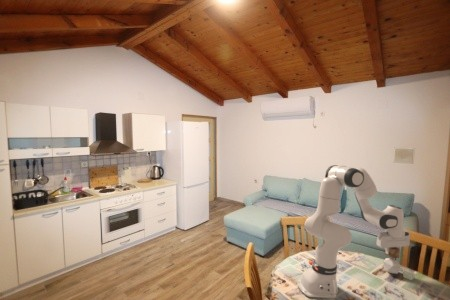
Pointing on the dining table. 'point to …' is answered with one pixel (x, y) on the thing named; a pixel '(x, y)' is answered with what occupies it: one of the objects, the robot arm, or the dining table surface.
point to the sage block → (408, 275)
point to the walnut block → (393, 252)
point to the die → (391, 265)
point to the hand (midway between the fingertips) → (392, 253)
